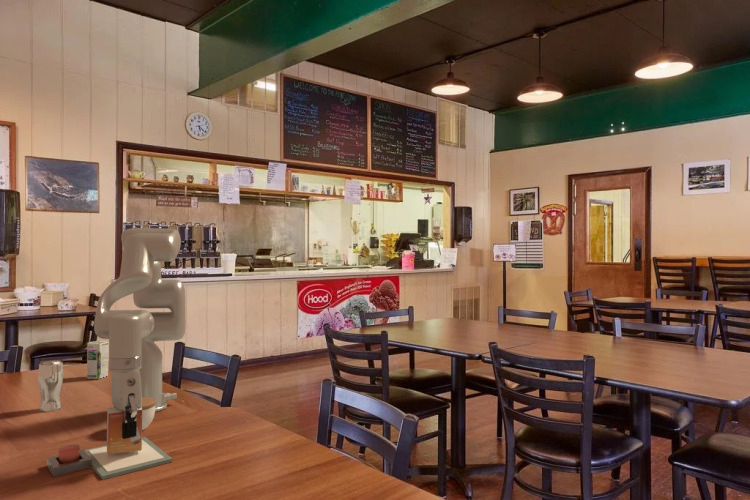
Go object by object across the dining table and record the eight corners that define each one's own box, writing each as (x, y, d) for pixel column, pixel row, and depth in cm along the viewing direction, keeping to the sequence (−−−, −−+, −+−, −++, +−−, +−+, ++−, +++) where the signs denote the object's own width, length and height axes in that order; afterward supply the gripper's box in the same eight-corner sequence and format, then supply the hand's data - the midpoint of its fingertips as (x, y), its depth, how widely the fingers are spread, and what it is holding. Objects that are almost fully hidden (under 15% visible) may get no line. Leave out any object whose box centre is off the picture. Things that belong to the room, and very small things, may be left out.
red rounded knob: (77, 454, 132) (77, 443, 132) (81, 460, 129) (81, 448, 129) (56, 459, 129) (57, 447, 129) (60, 464, 126) (61, 452, 126)
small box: (106, 456, 131) (107, 413, 131) (106, 448, 136) (106, 407, 136) (142, 450, 135) (142, 409, 135) (140, 443, 140) (141, 403, 140)
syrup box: (86, 379, 214) (86, 342, 214) (96, 375, 220) (96, 340, 220) (99, 379, 213) (99, 343, 213) (108, 376, 219) (109, 340, 219)
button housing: (83, 457, 135) (83, 449, 135) (91, 467, 129) (91, 459, 129) (46, 465, 129) (46, 457, 129) (53, 476, 123) (53, 467, 123)
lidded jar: (146, 420, 164) (147, 389, 164) (161, 428, 156) (161, 396, 156) (109, 428, 157) (110, 396, 157) (123, 437, 149) (123, 404, 149)
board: (144, 439, 148) (145, 436, 148) (172, 461, 133) (172, 457, 133) (80, 453, 137) (80, 450, 137) (102, 479, 122) (102, 475, 122)
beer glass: (33, 410, 172) (33, 364, 172) (53, 404, 179) (53, 360, 179) (48, 413, 170) (48, 366, 170) (67, 407, 176) (68, 362, 176)
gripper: (152, 367, 132) (151, 439, 132) (129, 355, 145) (129, 421, 145) (119, 371, 127) (119, 447, 127) (99, 359, 140) (99, 427, 140)
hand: (124, 432), depth 136 cm, fingers closed on small box, 6 cm apart
